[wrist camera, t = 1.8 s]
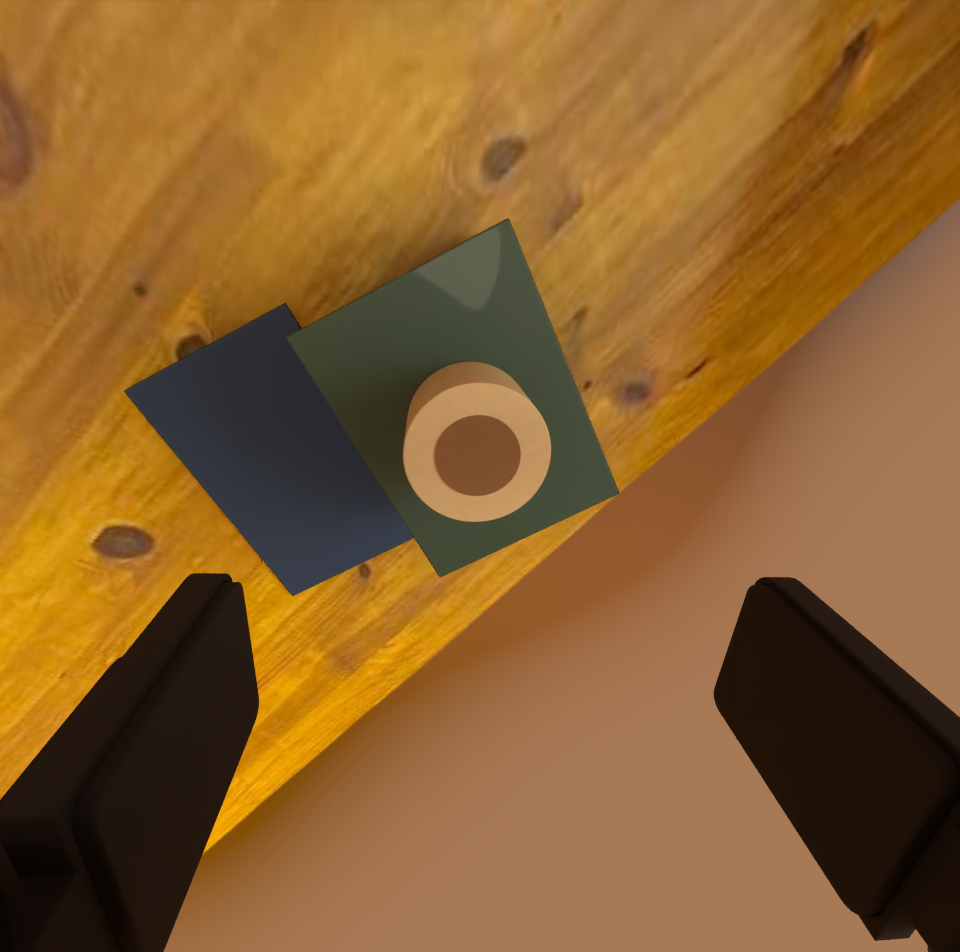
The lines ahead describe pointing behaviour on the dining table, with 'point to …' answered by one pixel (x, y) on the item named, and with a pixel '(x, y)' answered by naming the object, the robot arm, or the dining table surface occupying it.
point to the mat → (272, 453)
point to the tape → (474, 443)
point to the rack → (445, 341)
